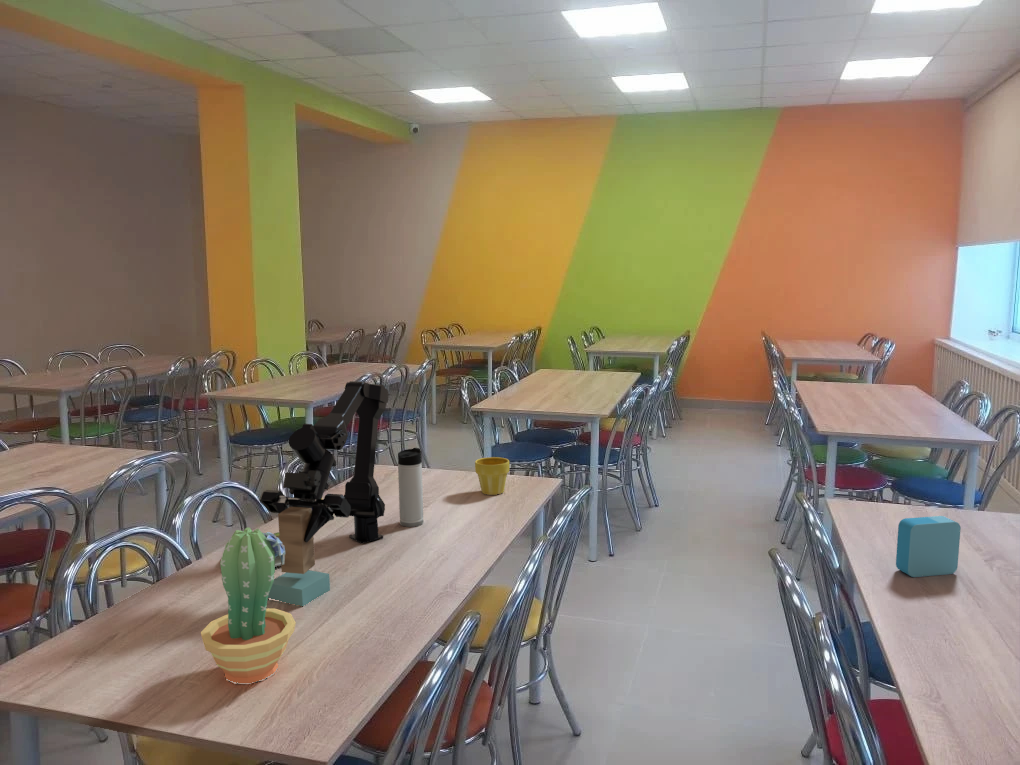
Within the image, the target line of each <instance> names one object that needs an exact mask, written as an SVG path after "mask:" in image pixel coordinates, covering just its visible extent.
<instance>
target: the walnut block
mask: <svg viewBox="0 0 1020 765" xmlns="http://www.w3.org/2000/svg"><path fill="white" fill-rule="evenodd" d="M311 516H312V508H304V507H289V508H287V509H285V510H284V511H282V512H281V513H277V519H278V521H277V522H278V532H279V538H280V541H281V542H282V544H283V545H284V548H285V562H284V565H282V561H281V566H280V567H281V569H280V570H281V573H286V572H287V573H298V574H304V573H306V572H307V571H308V570H311V568H313V567H314V566H315V565H316V558H315V557H316V556H315V541H314V540H315V539H314V536H313V537H312V538H311V539H310V540H309V541H308V542H305V541H304V537H305V533H306V530H307V527H308V524H309V521H310V519H311Z"/></svg>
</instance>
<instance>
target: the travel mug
mask: <svg viewBox="0 0 1020 765" xmlns="http://www.w3.org/2000/svg"><path fill="white" fill-rule="evenodd" d="M397 465H398V466H397V470H398V471H397V473H398V475H397V476H398V478H397V479H398V501H399V503H398V506H399V508H398V509H399V525H400V526H402V527H405V526H406V528H414V527H415V526H416V527H420V526H421V525H423V524H424V498H423V496H424V493H423V491H424V490H423V462H422V450H421V448H419V447H414V448H408V449H407V448H406V449H404V450H403V449H402V450H401V451H399V452H398V453H397ZM419 525H420V526H419Z"/></svg>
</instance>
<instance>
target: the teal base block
mask: <svg viewBox="0 0 1020 765" xmlns="http://www.w3.org/2000/svg"><path fill="white" fill-rule="evenodd" d="M329 591H331V581H330V573H327V572H321V571H318V570H317V571H316V570H311V569H309V570H308V571H307V572H306V573H304V574H298V573H287V572H283V573H282V574H281V575H279V576H277V577H276V578H275V577H274V581H273V584H272V587H271V590H270V592H269V595H268V598H271V599H275V600H279V601H282V602H286V603H290V604H295V605H300V606H304V605H305V606H307V605H308V603H309V602H310V603H312V602H313V601H315V600H317V599H318V598H320V597H321V595H322V596H323V595H325V594H326V593H329ZM324 593H325V594H324ZM319 596H320V597H319ZM317 597H318V598H317ZM316 598H317V599H316ZM314 599H315V600H314ZM312 600H313V601H312ZM311 601H312V602H311ZM286 603H285V604H286ZM310 603H309V604H310ZM290 604H289V605H290ZM306 604H307V605H306ZM295 605H294V606H295ZM300 606H299V607H300ZM305 606H304V607H305Z"/></svg>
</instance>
